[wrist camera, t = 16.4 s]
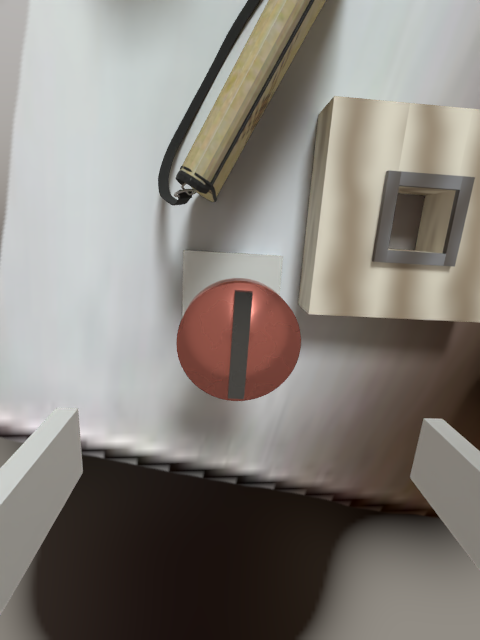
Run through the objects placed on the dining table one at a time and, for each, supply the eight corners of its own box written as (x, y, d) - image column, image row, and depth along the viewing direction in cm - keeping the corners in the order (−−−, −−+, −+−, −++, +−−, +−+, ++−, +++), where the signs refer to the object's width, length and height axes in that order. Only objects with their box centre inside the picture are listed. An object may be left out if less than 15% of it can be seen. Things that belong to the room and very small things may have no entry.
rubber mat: (281, 255, 38) (283, 256, 37) (273, 346, 41) (274, 349, 40) (184, 250, 37) (183, 250, 36) (182, 343, 40) (181, 345, 39)
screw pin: (194, 260, 37) (176, 280, 22) (275, 265, 37) (310, 288, 23) (191, 337, 39) (174, 402, 24) (268, 341, 40) (295, 407, 25)
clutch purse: (303, -116, 30) (380, -443, 15) (364, -61, 31) (490, -316, 16) (148, 188, 36) (97, 160, 21) (205, 224, 37) (194, 220, 22)
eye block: (501, 130, 36) (551, 113, 30) (458, 311, 41) (494, 324, 36) (318, 114, 34) (336, 93, 29) (298, 303, 40) (309, 315, 34)
